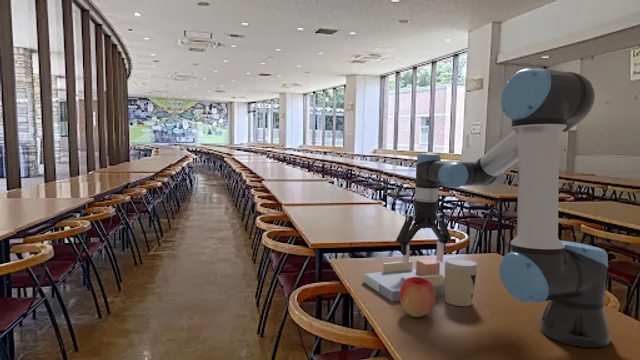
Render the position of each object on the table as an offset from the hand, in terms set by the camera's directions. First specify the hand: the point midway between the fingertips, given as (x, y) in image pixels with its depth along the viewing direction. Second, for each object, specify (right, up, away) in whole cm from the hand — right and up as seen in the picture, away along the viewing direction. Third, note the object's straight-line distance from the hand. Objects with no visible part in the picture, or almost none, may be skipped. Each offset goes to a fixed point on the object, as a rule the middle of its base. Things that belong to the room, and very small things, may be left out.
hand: (422, 262), depth 149 cm
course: (-5, -7, -5) cm, 10 cm away
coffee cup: (+7, -9, -17) cm, 20 cm away
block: (+2, -4, +1) cm, 4 cm away
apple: (-8, -9, -28) cm, 30 cm away
